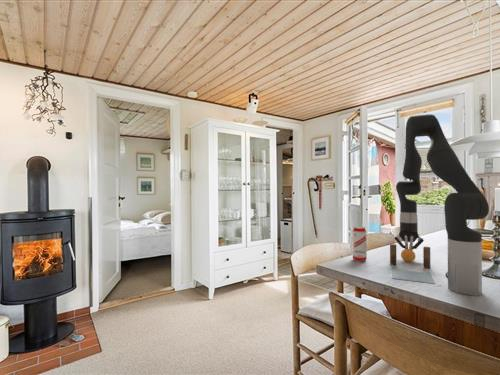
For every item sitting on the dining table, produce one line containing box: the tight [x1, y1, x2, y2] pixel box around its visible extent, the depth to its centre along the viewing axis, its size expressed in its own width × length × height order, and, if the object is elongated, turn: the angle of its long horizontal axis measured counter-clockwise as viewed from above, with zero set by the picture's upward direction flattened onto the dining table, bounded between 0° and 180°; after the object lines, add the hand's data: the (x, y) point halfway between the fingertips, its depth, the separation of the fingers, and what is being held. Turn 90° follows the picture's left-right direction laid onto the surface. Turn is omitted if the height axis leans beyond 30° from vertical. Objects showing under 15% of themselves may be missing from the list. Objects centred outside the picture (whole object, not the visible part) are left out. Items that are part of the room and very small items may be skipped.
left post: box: [389, 243, 397, 266], centre depth 128 cm, size 3×3×9 cm
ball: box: [400, 248, 416, 263], centre depth 132 cm, size 6×6×6 cm
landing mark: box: [391, 268, 436, 285], centre depth 110 cm, size 14×14×1 cm
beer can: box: [352, 226, 368, 263], centre depth 134 cm, size 6×6×16 cm
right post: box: [422, 246, 431, 270], centre depth 122 cm, size 3×3×9 cm
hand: (408, 256), depth 136 cm, fingers closed
